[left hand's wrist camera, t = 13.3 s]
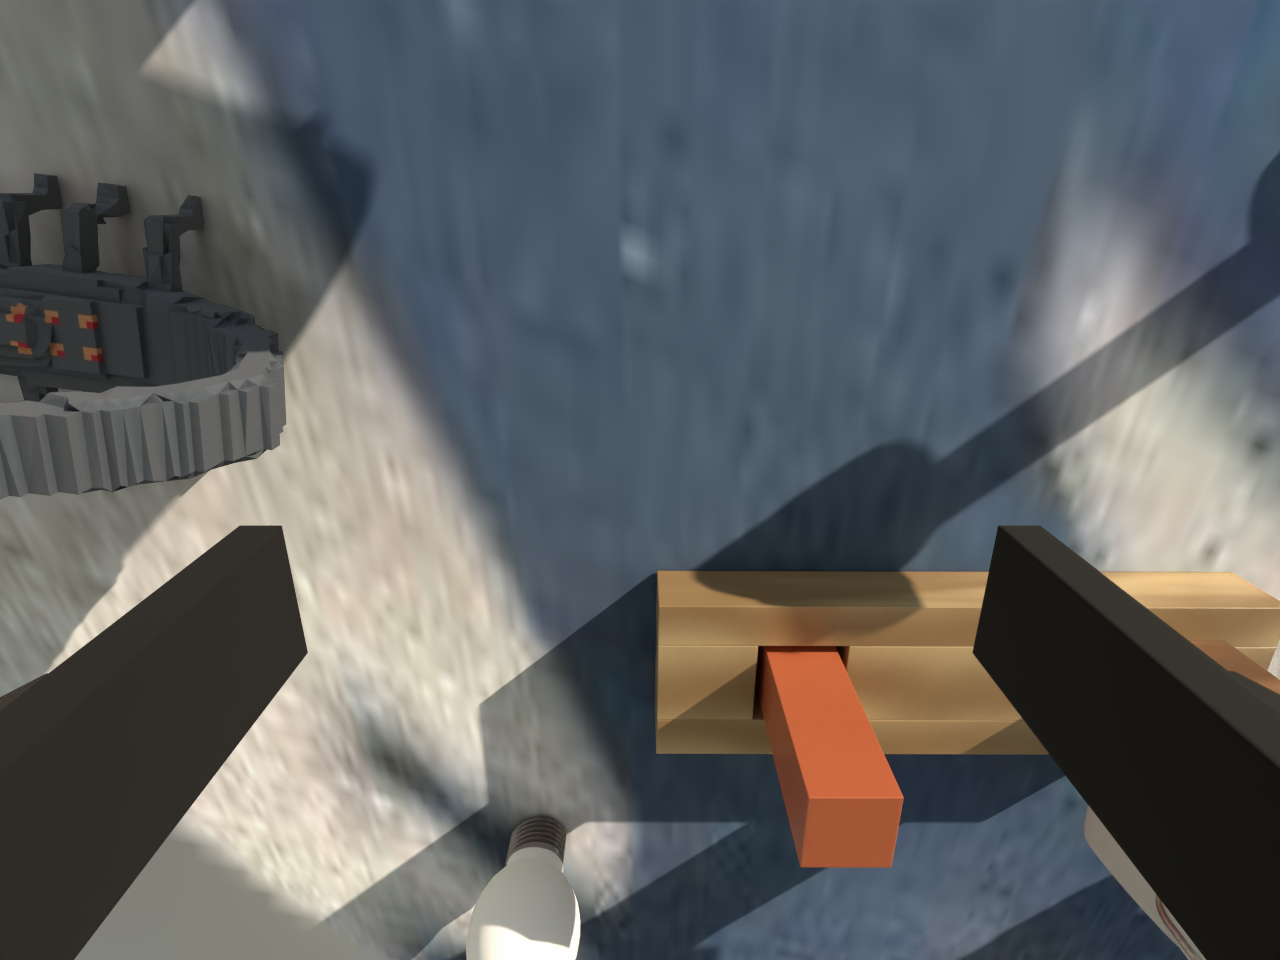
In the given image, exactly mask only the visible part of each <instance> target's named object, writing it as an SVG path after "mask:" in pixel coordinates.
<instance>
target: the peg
mask: <svg viewBox="0 0 1280 960" xmlns="http://www.w3.org/2000/svg"><path fill="white" fill-rule="evenodd" d="M755 685H756V689H757V693H758V697H759V701H760V705H761V710H762V714H763V718H764V722H765V726H766V730H767V734H768V738H769V742H770V746H771V750H772V754H773V758H774V762H775V766H776V771H777V775H778V779H779V783H780V787H781V791H782V795H783V799H784V803H785V807H786V811H787V815H788V819H789V823H790V827H791V832H792V836H793V840H794V844H795V848H796V852H797V856H798V860H799V864H800V867H891V866H892V860H893V855H894V849H895V843H896V838H897V832H898V827H899V821H900V816H901V810H902V804H903V799H904V797H903V795H902V793H901V791H900V788H899V786H898V784H897V782H896V780H895V777H894V775H893V773H892V771H891V769H890V766H889V764H888V762H887V760H886V758H885V755H884V753H883V751H882V749H881V747H880V744H879V742H878V740H877V738H876V735H875V733H874V731H873V729H872V727H871V724H870V722H869V720H868V718H867V716H866V713H865V711H864V709H863V707H862V705H861V702H860V700H859V698H858V696H857V694H856V691H855V689H854V687H853V685H852V682H851V680H850V678H849V676H848V674H847V671H846V669H845V667H844V665H843V663H842V660H841V658H840V656H839V654H838V652H837V649H836V647H835V646H758V654H757V667H756V680H755Z"/></svg>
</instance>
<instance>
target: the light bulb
mask: <svg viewBox="0 0 1280 960" xmlns="http://www.w3.org/2000/svg"><path fill="white" fill-rule="evenodd" d="M565 841H566V834H565V831H564V829H563V827H562V826H561V825H560V824H559V823H557V822H556V821H554V820H551V819H547V818H534V819H530V820H527V821H525V822H523V823H521V824H520V825H519V826H517V827H516V829H515V830H514V831H513V833H512V835H511V838H510V843H509V848H508V853H507V858H506V862H505V867H504V868H503V869H502V870H501V871H499V872H498V873H497V874H496V875H495V876H494V877H493V878H492V879H491V880H490V882H489V883H488V884H487V886H486V887H485V888H484V890H483V891H482V893H481V895H480V897H479V899H478V900H477V902H476V905H475V907H474V910H473V913H472V916H471V919H470V922H469V928H468V934H467V942H466V959H467V960H575V959H576V956H577V951H578V945H579V939H580V914H579V908H578V902H577V899H576V897H575V894H574V891H573V889H572V886H571V884H570V883H569V881H568V880H567V878H566V877H565V875H564V874H563V859H564V850H565Z"/></svg>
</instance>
